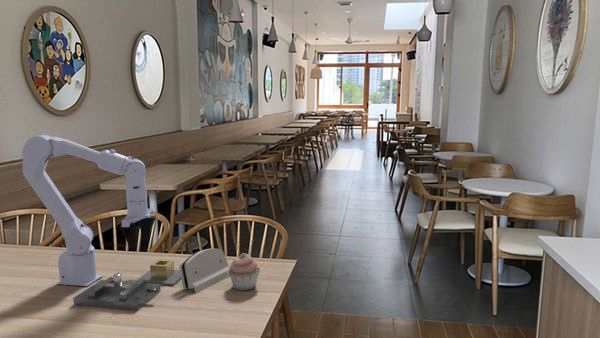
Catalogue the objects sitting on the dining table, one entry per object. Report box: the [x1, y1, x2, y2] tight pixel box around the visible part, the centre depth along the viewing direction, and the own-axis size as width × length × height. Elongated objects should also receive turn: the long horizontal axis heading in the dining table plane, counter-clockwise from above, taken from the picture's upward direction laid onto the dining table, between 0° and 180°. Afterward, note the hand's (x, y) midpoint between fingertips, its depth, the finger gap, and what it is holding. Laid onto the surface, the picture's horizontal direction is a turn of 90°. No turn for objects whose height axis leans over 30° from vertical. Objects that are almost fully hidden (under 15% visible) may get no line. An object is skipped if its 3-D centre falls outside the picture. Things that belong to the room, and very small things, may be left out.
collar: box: [149, 259, 175, 280], centre depth 135 cm, size 5×5×4 cm
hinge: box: [178, 248, 230, 294], centre depth 133 cm, size 17×5×10 cm, turn 149°
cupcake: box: [227, 252, 261, 291], centre depth 128 cm, size 9×9×10 cm
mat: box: [134, 269, 182, 287], centre depth 135 cm, size 12×10×1 cm
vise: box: [73, 272, 162, 312], centre depth 121 cm, size 20×12×6 cm, turn 80°
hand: (139, 243), depth 137 cm, fingers open, 7 cm apart
